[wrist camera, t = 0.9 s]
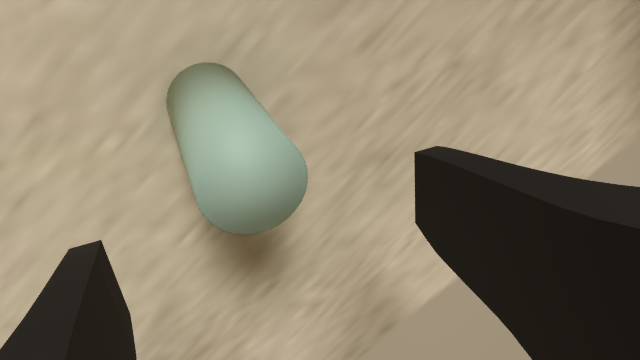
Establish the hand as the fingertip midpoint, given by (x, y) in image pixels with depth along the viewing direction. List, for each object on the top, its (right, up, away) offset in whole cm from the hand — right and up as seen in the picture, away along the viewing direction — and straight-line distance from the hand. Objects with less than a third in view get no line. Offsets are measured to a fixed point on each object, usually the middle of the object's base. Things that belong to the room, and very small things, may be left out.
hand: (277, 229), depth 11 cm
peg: (-3, +4, +8) cm, 9 cm away
